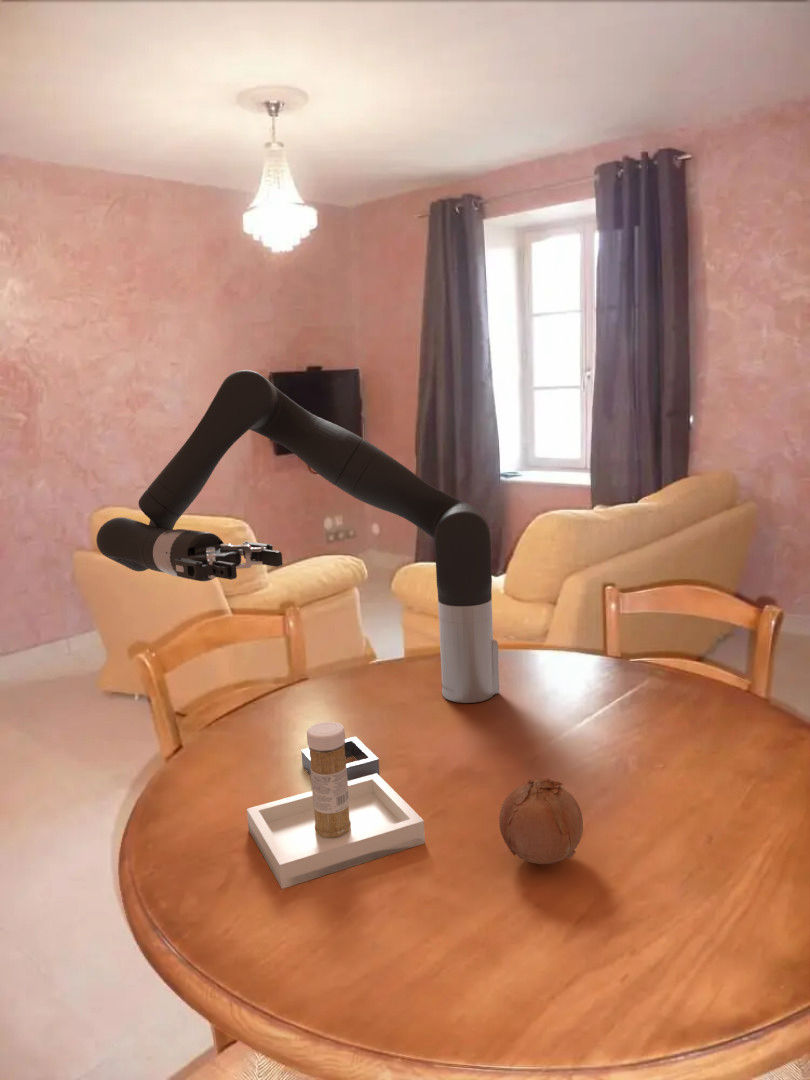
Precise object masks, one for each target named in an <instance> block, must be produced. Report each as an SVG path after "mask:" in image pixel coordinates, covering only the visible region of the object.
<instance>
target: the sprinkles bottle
mask: <svg viewBox="0 0 810 1080" xmlns="http://www.w3.org/2000/svg"><path fill="white" fill-rule="evenodd" d="M306 739H307V740H306V741H307V742H306V743H307V746H308V748H309V749H310V759H311V760H310V762H311V769H310V770H311V776H310V780H311V782H310V783H311V791H312V795H313V806H314V814H315V831H316V833H317V834H319V835H321V836H323V837H337V836H341V835H343V834H345V833H346V832H347V831H348V830H349V829H350V827H351V822H350V820H349V806H348V805H349V794H348V779H347V766H346V764H347V763H346V758H345V748H344V746H345V739H346V732H345V727H344V725H343V724H342V723H340V722H337V721H321V722H317V723H314V724H312V725H311V726H309V727H308V728H307V730H306Z"/></svg>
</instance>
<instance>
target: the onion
mask: <svg viewBox="0 0 810 1080" xmlns="http://www.w3.org/2000/svg"><path fill="white" fill-rule="evenodd" d="M562 785H563V783H562V782H560V781H559V780H552V779H551V778H550V777H549V778H538V779H536V780H532V779H531V780H528V781H526V782H525V783H522V784H521V785H518V786H517V787H516V788H515V789H513V790H512V791H510V792H509V793H508V794H507V796H506V797H505V799H504V801H503V802H502V804H501V807H500V812H499V818H498V820H499V823H498V824H499V831H500V834H501V836H502V838H503V839H502V840H503V842H504V843H505V845H506V846H507V848H508V849H509V851H510V853H512V855H513V856H514V857H515V856H518V858H520V859H521V860H524V861H525V862H529V863H531V864H535V865H536V866H538V865H550V864H551V865H552V864H555V863H560V861H563V860H564V859H566V858H567V859H568V860H571V859H572V858H573V857H574V855H575V854H576V851H575V850H576V849H577V848H578V846H579V844H580V842H581V839H582V837H583V831H584V828H583V827H584V821H583V813H582V810H581V808H580V806H579V803H578V801H577V800H576V799H575V797H574V796H573V794H572V793H570V792H569V791H568V790H567V789H566V788H565V787H563V786H562Z"/></svg>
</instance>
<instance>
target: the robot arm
mask: <svg viewBox="0 0 810 1080" xmlns="http://www.w3.org/2000/svg"><path fill="white" fill-rule="evenodd" d="M248 431H251V432H254V433H257V434H258V435H261V436H263V437H266V438H267V439H269V440H270V441H273V442H275V443H277V444H279V445H280V446H283V447H284V448H286V449H287V450H288V451H290V452H291V453H293V454H294V455H295V456H297V458H298V459H300V461H302V462H303V463H304V464H306V465H307V466H308V467H309V468H311V470H312V471H314V472H316V473H317V474H318V475H319V476H321V477H322V478H323V479H325V480H326V481H328V482H329V483H330V484H331V485H333V486H335V487H337V488H338V489H340V490H341V491H342V492H344V493H346V494H348V495H350V496H352V498H355V499H357V500H359V501H360V502H362V503H365V504H367V505H369V506H372V507H374V508H377V509H380V510H382V511H385V512H388V513H391V514H394V515H396V516H399V517H401V518H402V519H405V520H406V521H408V522H409V523H412V525H414V526H416V527H418V529H420V530H422V531H423V532H425V534H427V535H428V536H429V537H431V538H432V539H433V540H434V553H435V571H436V572H435V573H436V574H435V577H436V589H437V603H438V604H437V605H438V609H437V610H438V626H439V627H438V629H439V649H440V652H439V653H440V666H441V667H440V670H441V694H442V696H443V698H444V699H446V700H448V701H451V702H454V703H461V704H470V703H471V704H472V703H473V704H474V703H480V702H485V701H486V700H489V699H491V698H493V696H494V695H497V694H500V670H499V669H500V668H499V667H500V666H499V665H500V663H499V659H500V658H499V641H498V640H497V639H494V626H493V602H492V601H493V598H492V597H493V596H492V593H493V592H492V589H493V587H492V585H493V584H492V583H493V575H492V572H493V571H492V541H491V531H490V527H489V522H488V520H487V518H486V516H485V514H484V513H482V511H481V510H479V509H478V508H477V507H475V506H473V505H471V504H470V503H467V502H465V501H463V500H461V499H458V498H456V497H454V496H452V495H451V494H448V493H446V492H445V491H442V490H440V489H439V488H437V487H434V486H433V485H431V484H429V483H428V482H426V481H425V480H423V479H422V478H421V477H419V476H418V475H416V474H415V473H414V472H412V470H410V469H409V468H408V467H406V466H405V465H403V464H402V463H401V462H399V461H398V460H396V459H395V458H394V457H392V456H391V455H390V454H387V453H386V452H384V451H383V450H382V449H380V448H379V447H378V446H375V445H374V444H372V443H370V442H369V441H367V440H366V439H364V438H363V437H361V436H359V435H357V434H356V433H354V432H352V431H350V430H349V429H345V428H344V427H342V426H339V425H338V424H336V423H333V422H331V421H329V420H326V419H323V418H322V417H319V416H317V415H315V414H313V413H311V412H310V411H308V410H307V409H304V407H303V406H300V405H299V404H298V403H296V401H294V400H293V399H291V398H290V397H289V396H287V395H286V394H285V393H283V392H282V391H281V390H280V389H278V388H277V386H275V385H274V384H273V383H272V382H271V381H270V380H268V378H266V376H264V375H262V374H261V373H260V372H258V371H255V370H254V371H253V370H251V369H243V370H238V371H235V372H232V373H230V374H229V375H228V376H227V377H226V378H225V379H224V380H223V381H222V384H221V385H220V386H219V388H218V391H217V392H216V394H215V396H214V397H213V399H212V401H211V402H210V404H209V406H208V408H207V409H206V412H205V413H204V415H203V416H202V418H201V420H200V421H199V422H198V424H197V426H196V427H195V429H194V430H193V431H192V433H191V435H190V436H189V437H188V439H186V441H185V442H184V443H183V445H182V447H181V448H180V449H179V450H178V451H177V452H176V454H175V455H174V456H173V457H172V459H170V461H169V462H168V463H167V465H165V466H164V468H163V469H162V470H161V471H160V472H159V474H158V475H157V476H156V477H155V479H154V480H153V481H152V483H150V485H149V486H148V487H147V488H146V489H145V491H144V492H143V493H142V495H141V496H140V498H139V500H138V507H139V509H140V511H141V512H142V513H143V514H144V515H145V516H146V517H147V518H148V519H149V523H148V524H146V523H144V522H141V521H138V520H135V519H132V518H127V517H121V516H120V517H115V518H111V519H110V520H107V521H106V522H105V523H104V524H102V525H101V526H100V528H99V530H98V532H97V535H96V547H97V548H98V549H97V550H99V552H100V553H101V554H102V555H103V556H105V558H108V559H110V560H112V561H114V562H116V563H117V564H120V565H122V566H124V567H126V568H127V569H129V570H132V571H134V572H144V571H147V570H151V571H154V572H159V573H165V574H168V575H171V576H173V577H176V578H183V579H186V580H192V581H198V582H210V581H212V580H214V579H216V578H220V579H226V580H232V581H233V580H235V579H237V577H238V574H237V569H241V570H242V569H251V568H252V566H257V565H259V566H260V565H262V566H270V567H276V568H278V567H282V566H283V563H284V562H283V555H282V554H283V553H282V552H281V551H279V550H274V549H273V548H274V547H273V544H270V543H261V542H251V541H244V542H242V544H232V543H224V541H223V540H222V539H221V538H220V537H219V536H218V535H217V534H216V533H213V532H209V531H201V530H192V529H185V528H180V529H179V528H177V529H174V527H175V525H176V524H177V522H178V520H179V519H180V518H181V516H182V515H184V513H185V512H186V511H187V510H188V508H189V507H190V506H191V505H192V503H193V502H194V501H195V500H196V498H197V497H198V496H199V494H200V493H201V491H202V490H203V488H204V487H205V485H206V484H207V482H208V481H209V479H210V477H211V475H212V474H213V472H214V470H215V468H216V467H217V465H218V464H220V463H219V462H220V461H221V460H222V458H223V457H224V456H225V454H226V453H227V452H228V451H229V450H230V449H231V448H232V446H233V445H234V444H235V443H236V442H237V441H238V440H239V439H240V438H241V437H242V436H244V435H245V434H246V433H247V432H248ZM242 557H243V558H244V559H245V563H243V562H242Z"/></svg>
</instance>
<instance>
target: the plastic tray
mask: <svg viewBox="0 0 810 1080" xmlns="http://www.w3.org/2000/svg"><path fill="white" fill-rule="evenodd" d="M348 794H349V805H348V806H349V820H350V822H351V827H350V829H349V830H348V831H347V832H346V833H345V834H343V835H341V836H337V837H323V836H321V835H319V834H317V833H316V831H315V814H314V806H313V795H312V790H311V791H307V792H303V793H299V794H296V795H292V796H289V797H285V798H280V799H277V800H274V801H271V802H266V803H262V804H258V805H255V806H253V807H247V808H246V817H247V829H248V831H249V834H250V835H251V837H252V838H253V840H254V842H255V844H256V845H257V847H258V849H259V852H260V853H261V854H262V857H263V858H264V860H265V862H266V863H267V866H268V867H269V869H270V871H271V872H272V874H273V876H274V877H275V879H276V881H277V883H278V885H279V886H280V888H281V889H282V890H284V889H286V888H290V887H292V886H296V885H300V884H302V883H305V882H308V881H312V880H315V879H319V878H321V877H324V876H327V875H330V874H334V873H336V872H340V871H342V870H345V869H348V868H353V867H355V866H358V865H359V866H360V865H361V864H365V863H368V862H372V861H374V860H377V859H380V858H383V857H387V856H390V855H393V854H395V853H398V852H402V851H405V850H409V849H411V848H415V847H417V846H421V845H425V844H426V839H425V838H426V836H425V820H424V819H423V818H422V817H421V816H420V815H419V814H418V813H417V812H416V811H415V810H414V809H413V808H412V807H411V806H410V805H409V804H408V803H407V802H406V801H405V800H404V799H403V798H402V797H401V796H400V795H399V794H398V793H397V792H396V790H394V789H393V788H392V787H391V786H390V785H389V783H387V782H386V780H384V779H383V778H382V777H381V776H380V775H378V774H377V773H376V774H372V775H369V776H365V777H361V778H358V779H354V780H350V781H348Z"/></svg>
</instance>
